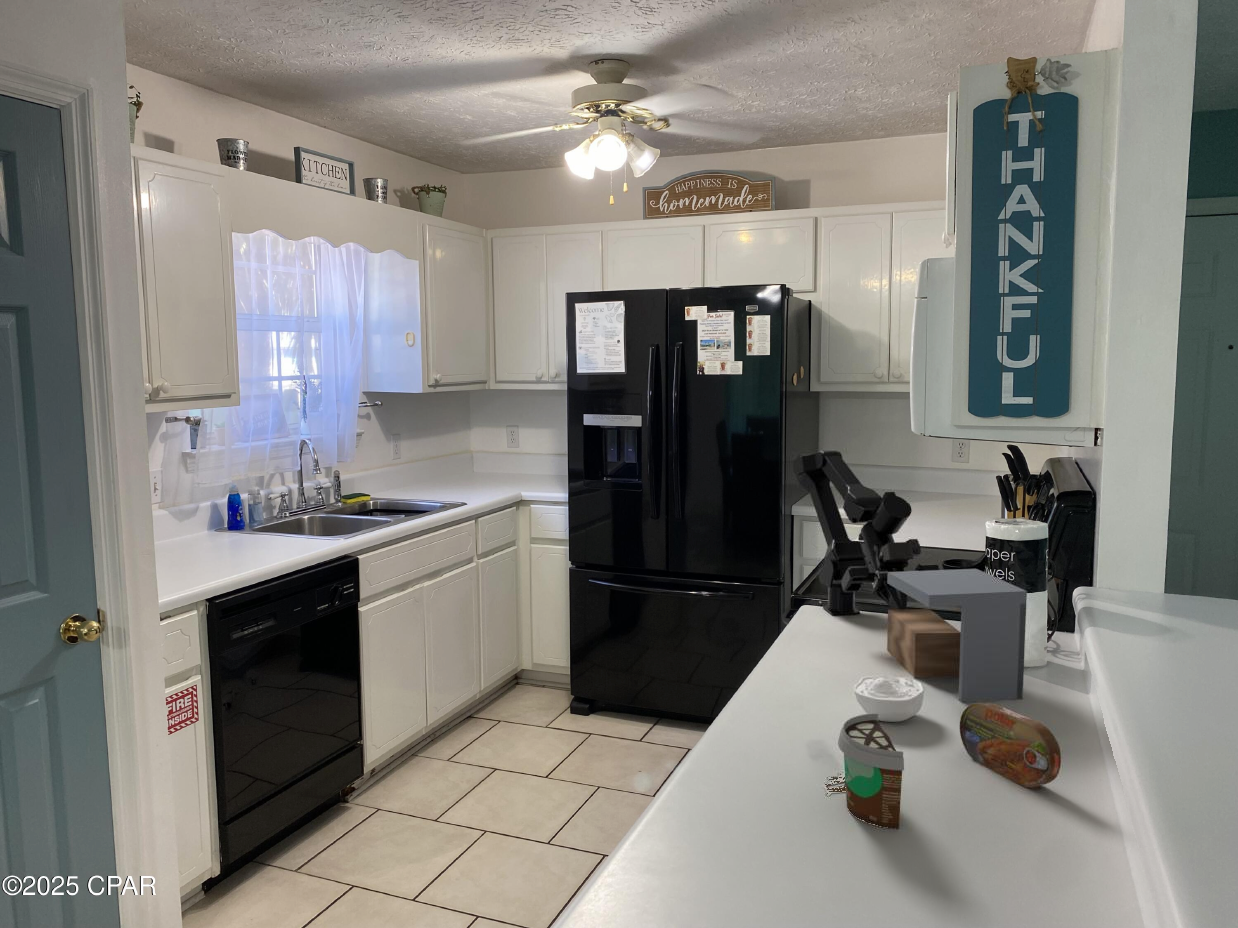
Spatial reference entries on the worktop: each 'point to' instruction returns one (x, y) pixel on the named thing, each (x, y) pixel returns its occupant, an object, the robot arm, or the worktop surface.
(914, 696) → the white bowl of cream
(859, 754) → the food container
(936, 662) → the walnut block
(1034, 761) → the tin
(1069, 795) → the worktop surface
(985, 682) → the slate shelf
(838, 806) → the worktop surface
